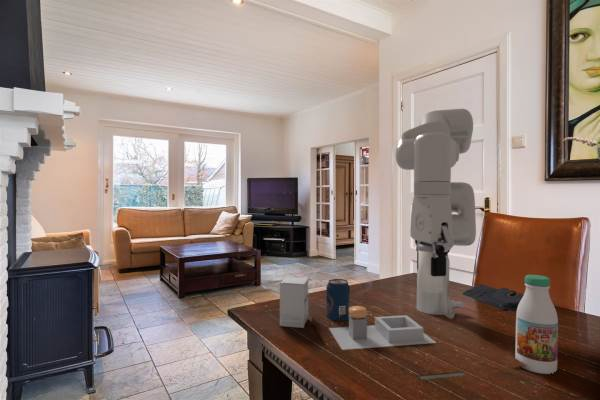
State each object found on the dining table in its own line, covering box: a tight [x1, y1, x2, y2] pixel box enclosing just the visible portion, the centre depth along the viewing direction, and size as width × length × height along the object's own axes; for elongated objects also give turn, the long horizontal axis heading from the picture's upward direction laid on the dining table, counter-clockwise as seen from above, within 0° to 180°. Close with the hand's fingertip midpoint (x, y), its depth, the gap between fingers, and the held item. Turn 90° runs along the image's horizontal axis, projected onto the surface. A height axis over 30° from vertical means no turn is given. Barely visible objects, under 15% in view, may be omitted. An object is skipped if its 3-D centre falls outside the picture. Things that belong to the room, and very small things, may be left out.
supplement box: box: [279, 276, 309, 329], centre depth 103 cm, size 7×7×13 cm
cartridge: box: [418, 243, 443, 293], centre depth 77 cm, size 5×5×10 cm
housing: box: [328, 314, 437, 351], centre depth 91 cm, size 24×13×6 cm, turn 99°
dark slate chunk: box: [462, 284, 524, 312], centre depth 125 cm, size 15×22×5 cm
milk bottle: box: [514, 274, 559, 375], centre depth 77 cm, size 8×8×20 cm
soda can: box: [325, 278, 351, 322], centre depth 104 cm, size 7×7×12 cm
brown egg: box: [349, 305, 368, 319], centre depth 90 cm, size 4×4×6 cm
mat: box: [416, 371, 465, 380], centre depth 78 cm, size 10×10×1 cm
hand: (431, 271), depth 77 cm, fingers closed on cartridge, 5 cm apart
